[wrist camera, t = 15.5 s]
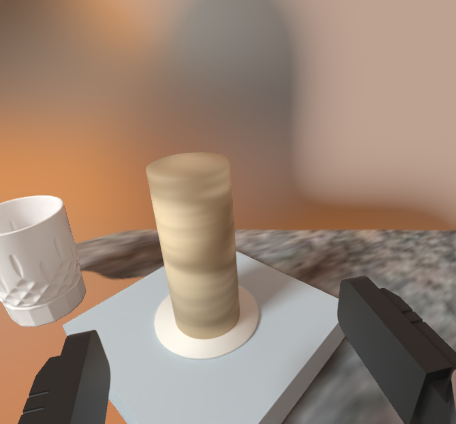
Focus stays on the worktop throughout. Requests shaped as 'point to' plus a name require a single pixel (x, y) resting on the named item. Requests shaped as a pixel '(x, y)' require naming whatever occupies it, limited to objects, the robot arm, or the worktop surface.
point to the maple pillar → (197, 240)
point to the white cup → (38, 261)
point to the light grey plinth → (214, 350)
